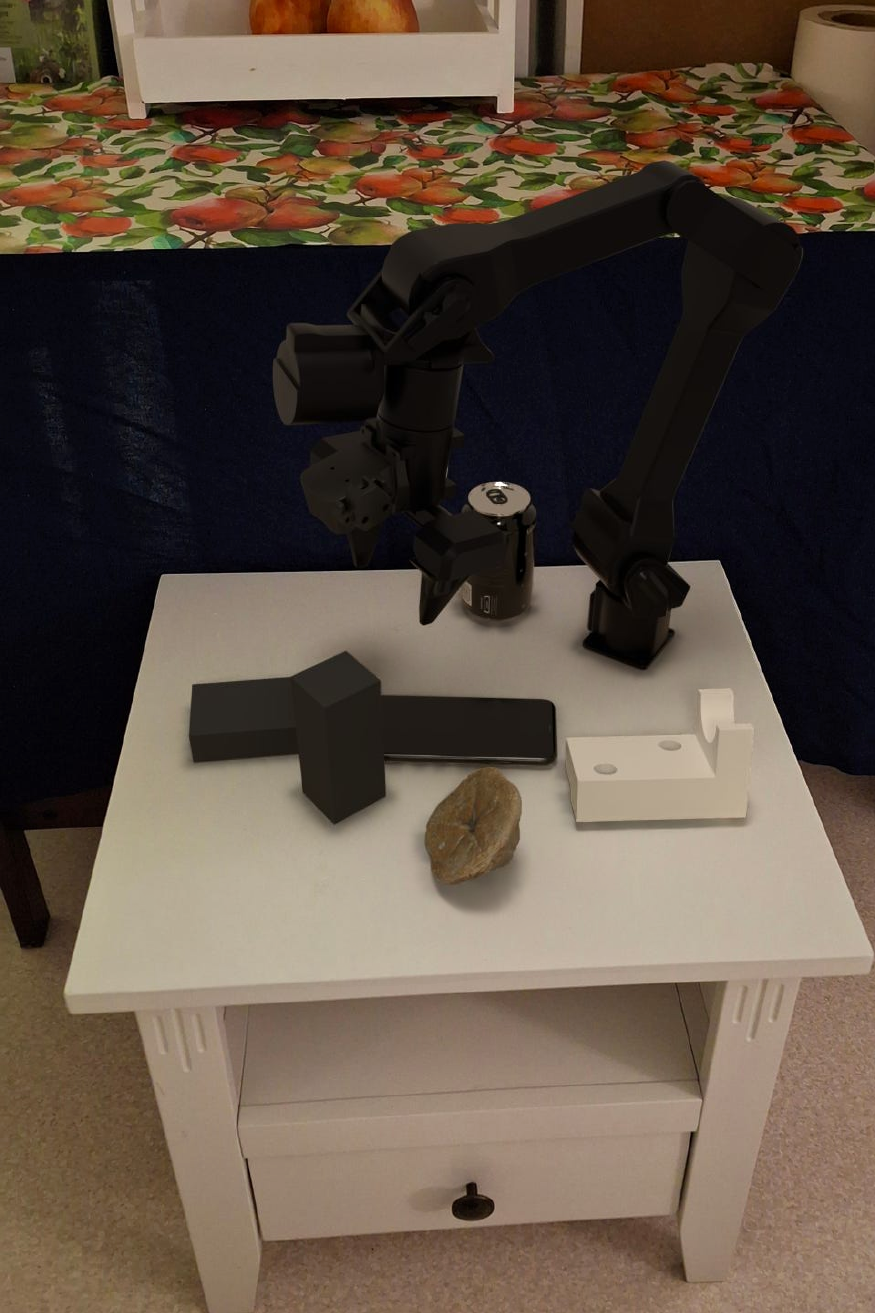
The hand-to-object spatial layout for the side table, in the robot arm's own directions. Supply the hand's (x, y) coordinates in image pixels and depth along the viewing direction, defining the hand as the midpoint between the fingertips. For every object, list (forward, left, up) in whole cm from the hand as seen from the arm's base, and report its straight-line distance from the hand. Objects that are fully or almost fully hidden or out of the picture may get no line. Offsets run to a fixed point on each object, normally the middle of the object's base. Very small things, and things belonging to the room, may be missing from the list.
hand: (392, 594), depth 98 cm
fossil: (-15, +11, -12) cm, 22 cm away
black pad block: (-3, +11, -12) cm, 16 cm away
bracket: (-23, -3, -12) cm, 26 cm away
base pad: (+7, +9, -12) cm, 16 cm away
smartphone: (-7, 0, -12) cm, 14 cm away
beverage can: (0, -17, -12) cm, 21 cm away
